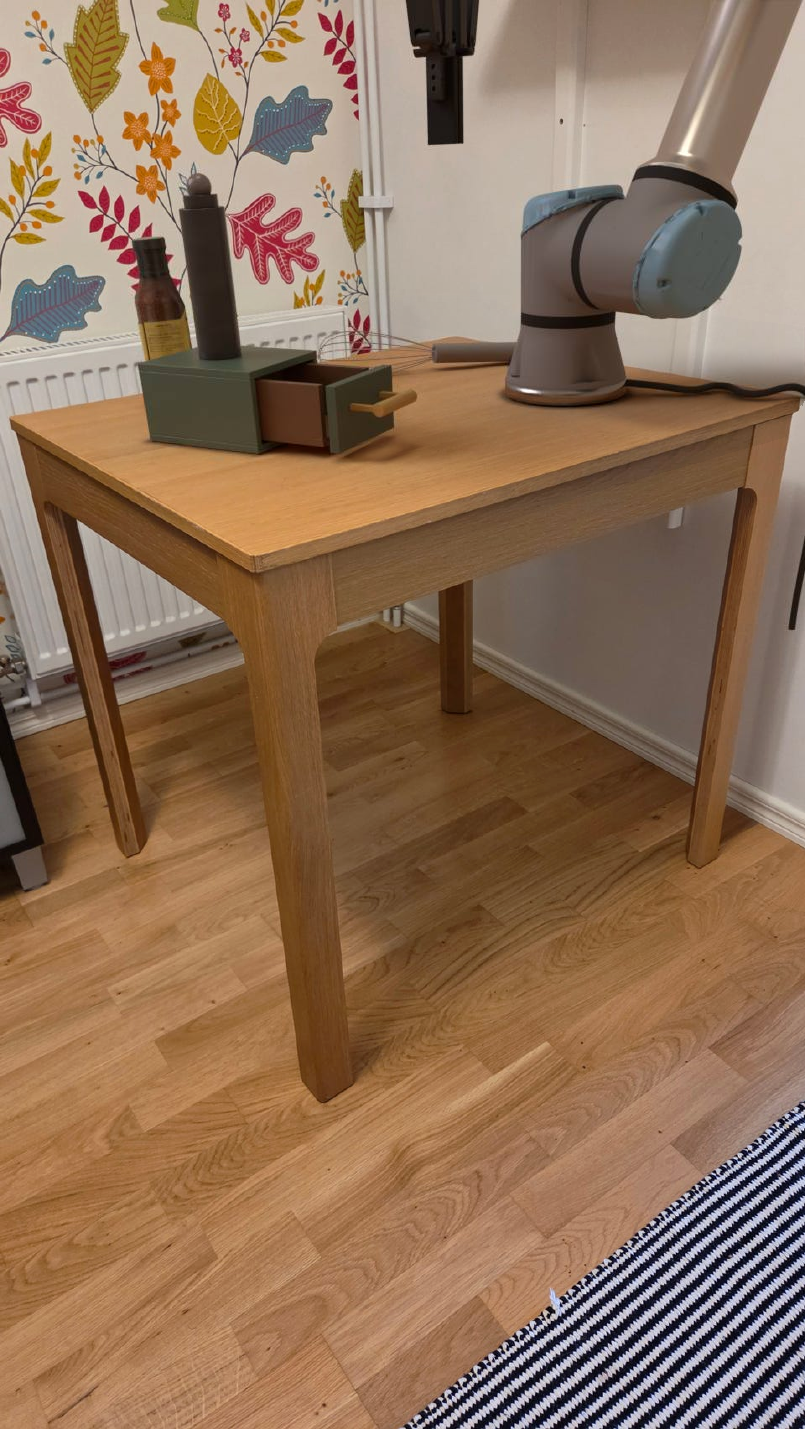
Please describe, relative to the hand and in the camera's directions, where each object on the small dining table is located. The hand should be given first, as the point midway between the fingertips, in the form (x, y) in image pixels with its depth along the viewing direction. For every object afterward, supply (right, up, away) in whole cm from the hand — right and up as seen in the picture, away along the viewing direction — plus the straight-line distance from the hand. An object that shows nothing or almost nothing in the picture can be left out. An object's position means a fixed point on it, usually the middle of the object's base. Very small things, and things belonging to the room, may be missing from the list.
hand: (445, 144), depth 89 cm
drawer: (-12, -21, +21) cm, 31 cm away
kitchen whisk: (0, -2, +54) cm, 54 cm away
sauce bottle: (-34, -10, +42) cm, 55 cm away
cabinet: (-23, -18, +27) cm, 40 cm away
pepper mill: (-24, -11, +23) cm, 35 cm away
